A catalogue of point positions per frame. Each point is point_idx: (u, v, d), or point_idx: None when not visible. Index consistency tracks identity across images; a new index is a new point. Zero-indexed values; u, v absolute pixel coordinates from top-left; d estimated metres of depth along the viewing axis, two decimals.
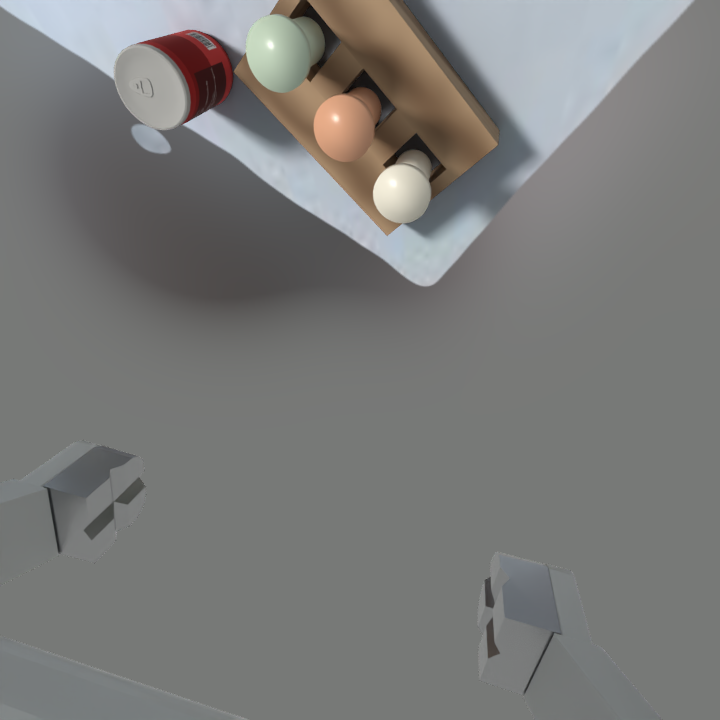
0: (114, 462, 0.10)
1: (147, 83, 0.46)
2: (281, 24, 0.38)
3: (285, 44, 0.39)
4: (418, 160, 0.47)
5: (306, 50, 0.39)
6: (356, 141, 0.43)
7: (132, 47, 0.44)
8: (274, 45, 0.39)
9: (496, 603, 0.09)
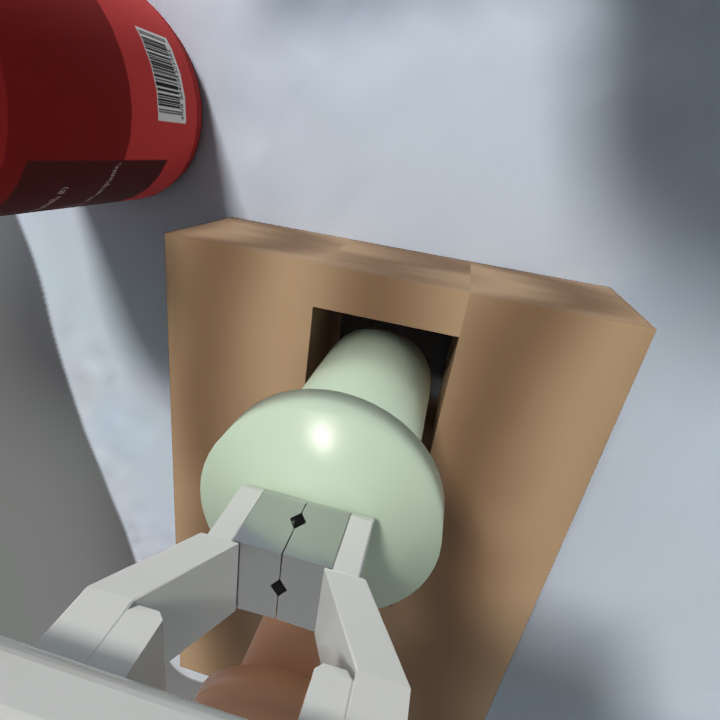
0: (290, 509, 0.09)
1: None
2: (415, 510, 0.10)
3: None
4: None
5: (400, 595, 0.11)
6: None
7: None
8: (338, 506, 0.10)
9: None
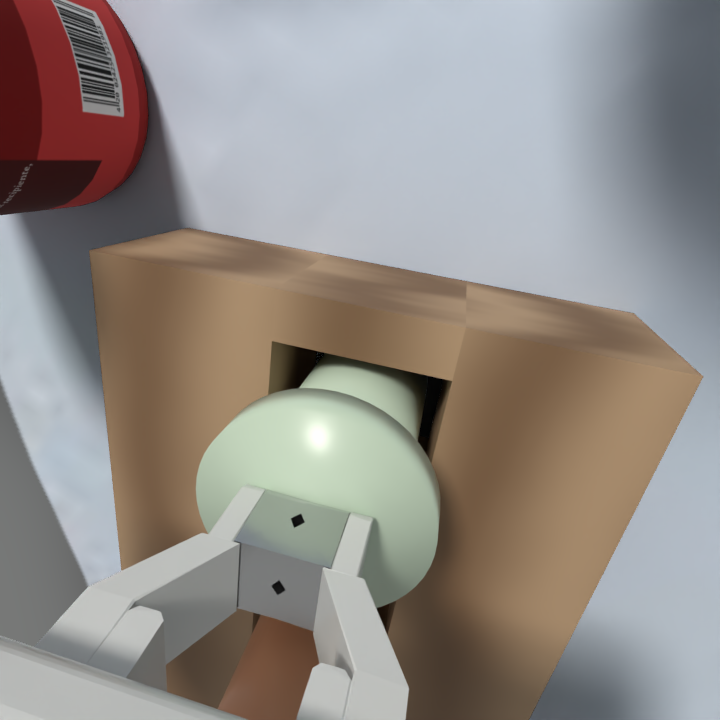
0: (290, 510, 0.09)
1: None
2: (411, 509, 0.10)
3: None
4: None
5: (396, 595, 0.11)
6: None
7: None
8: (334, 505, 0.10)
9: None
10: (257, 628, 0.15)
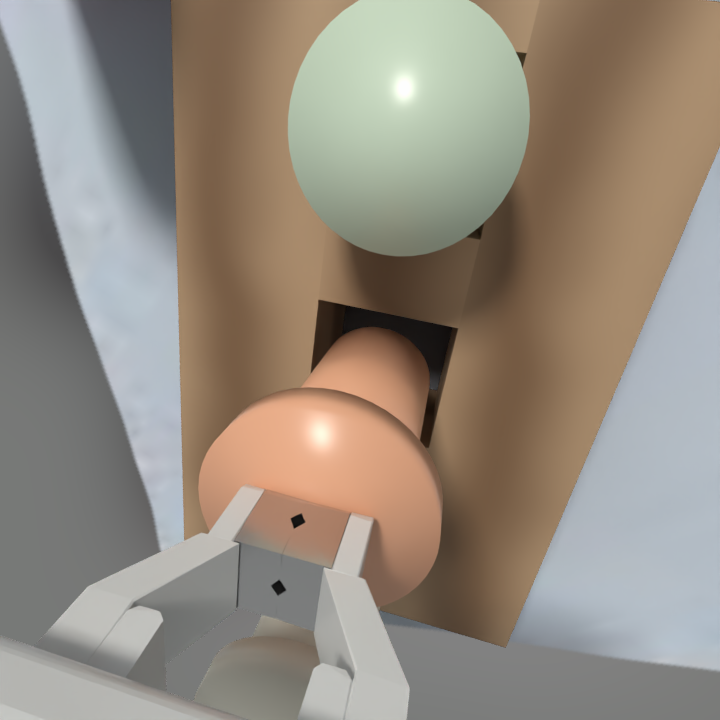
0: (290, 510, 0.09)
1: None
2: (505, 97, 0.10)
3: (454, 145, 0.11)
4: None
5: (481, 222, 0.11)
6: None
7: None
8: (427, 109, 0.10)
9: None
10: (325, 354, 0.16)
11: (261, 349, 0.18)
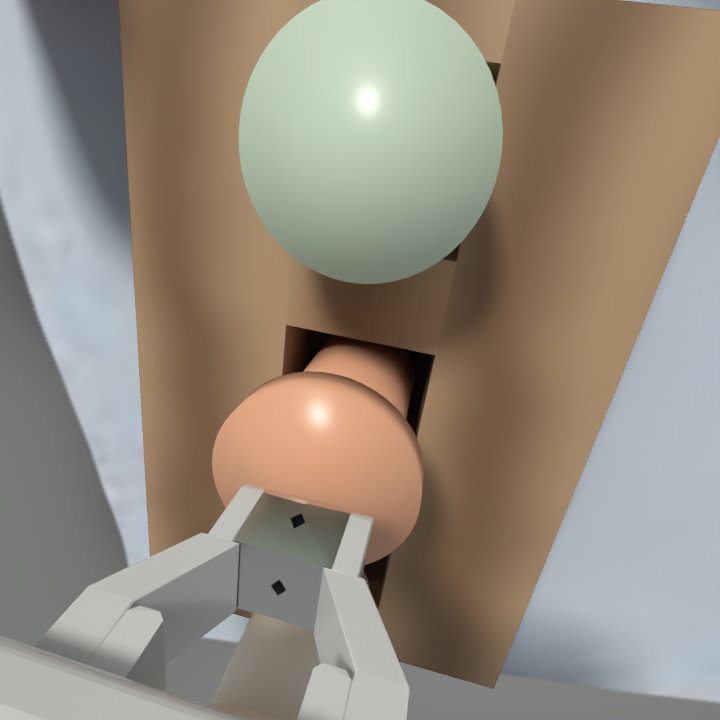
0: (290, 510, 0.09)
1: None
2: (475, 111, 0.09)
3: (421, 163, 0.10)
4: None
5: (452, 247, 0.10)
6: None
7: None
8: (390, 124, 0.09)
9: None
10: None
11: (226, 377, 0.17)
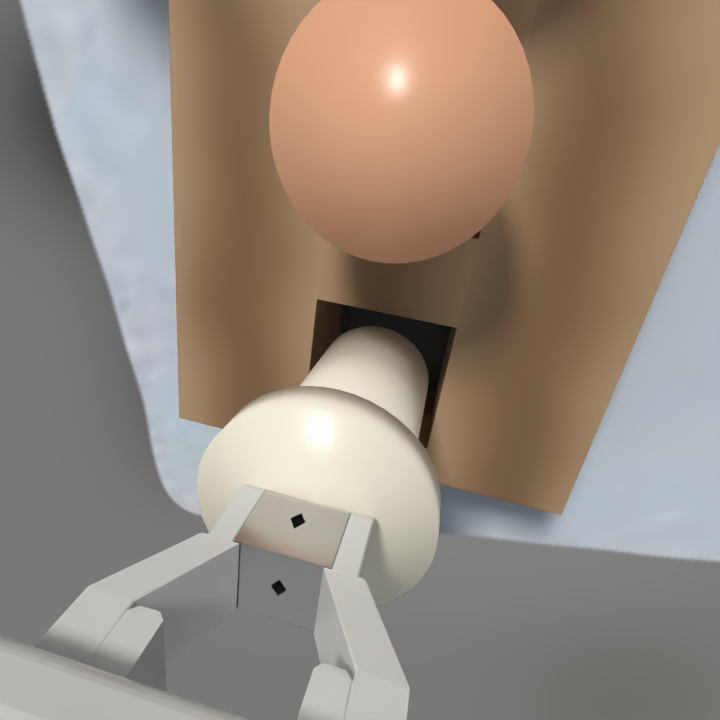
0: (290, 510, 0.09)
1: None
2: None
3: None
4: (421, 406, 0.14)
5: None
6: (394, 207, 0.10)
7: None
8: None
9: None
10: None
11: None
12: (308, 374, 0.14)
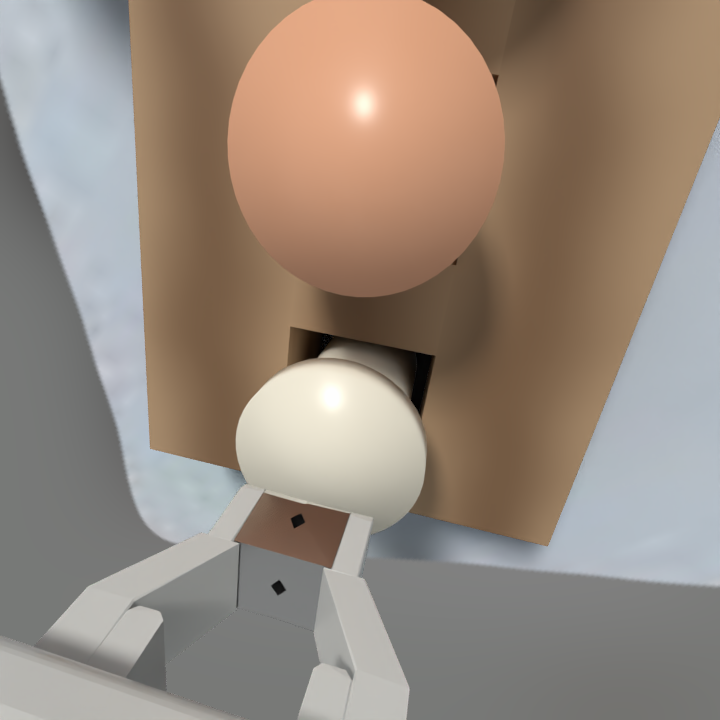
0: (290, 510, 0.09)
1: None
2: None
3: None
4: (411, 382, 0.17)
5: None
6: (361, 239, 0.10)
7: None
8: None
9: None
10: None
11: None
12: None
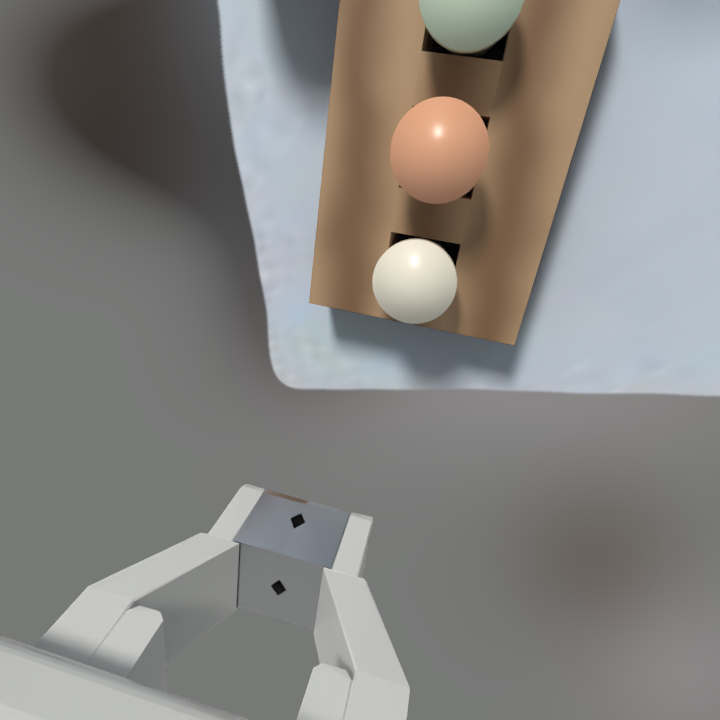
0: (290, 510, 0.09)
1: None
2: None
3: None
4: None
5: (506, 28, 0.25)
6: (437, 181, 0.27)
7: None
8: None
9: None
10: None
11: (375, 142, 0.31)
12: None
